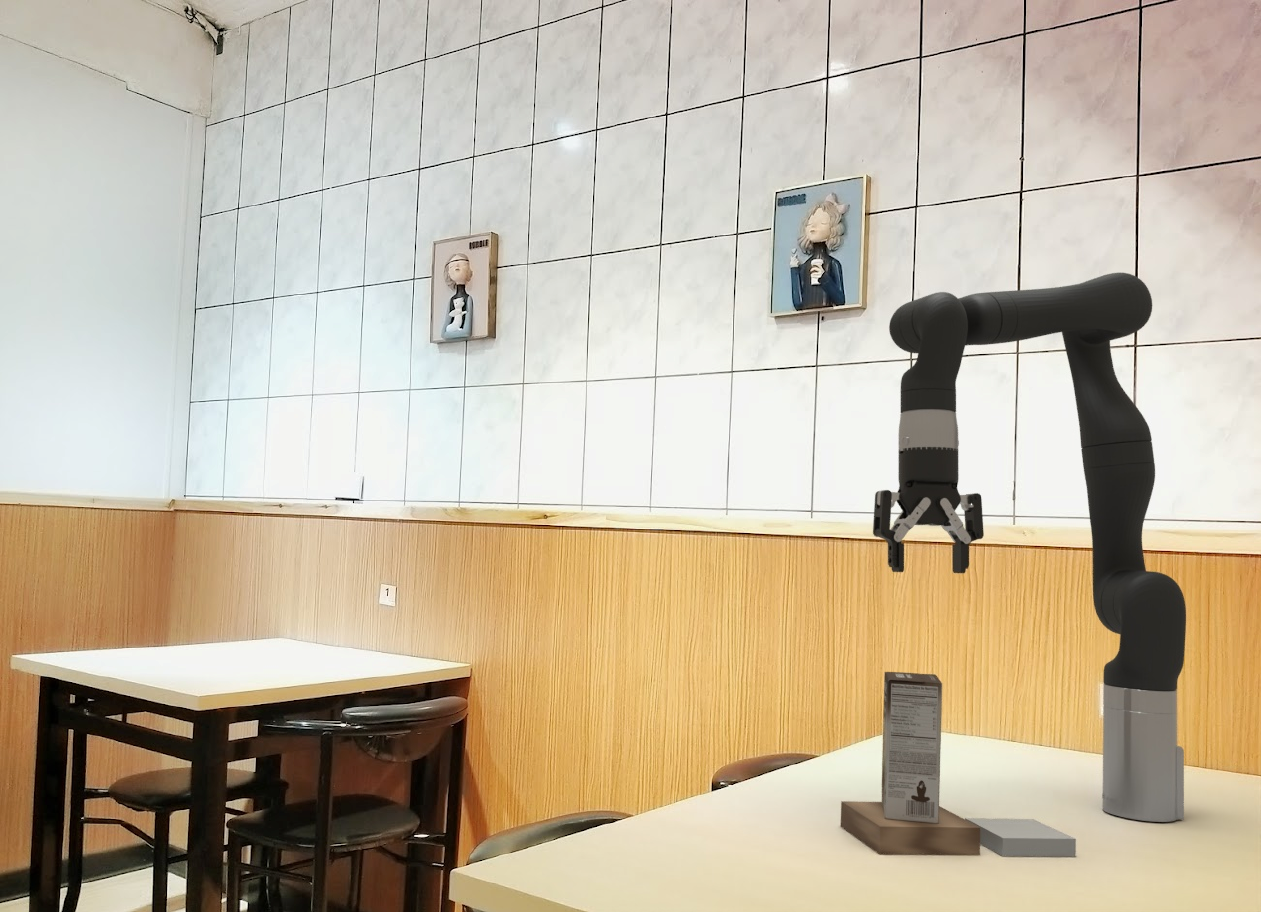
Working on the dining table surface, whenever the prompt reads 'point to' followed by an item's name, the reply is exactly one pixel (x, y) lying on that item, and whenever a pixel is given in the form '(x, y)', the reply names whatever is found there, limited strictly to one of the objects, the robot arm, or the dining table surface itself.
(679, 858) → the dining table surface
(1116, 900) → the dining table surface
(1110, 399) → the robot arm
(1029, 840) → the grey coaster
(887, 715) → the coffee box
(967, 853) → the walnut base
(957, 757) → the dining table surface
